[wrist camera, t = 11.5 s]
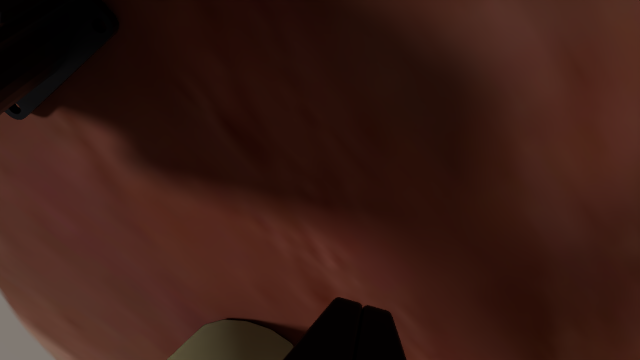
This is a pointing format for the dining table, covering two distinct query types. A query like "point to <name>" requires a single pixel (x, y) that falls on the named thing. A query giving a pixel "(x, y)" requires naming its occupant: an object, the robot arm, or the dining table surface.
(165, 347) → the dining table surface
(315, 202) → the dining table surface
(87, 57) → the robot arm
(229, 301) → the dining table surface
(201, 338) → the squeeze bottle
